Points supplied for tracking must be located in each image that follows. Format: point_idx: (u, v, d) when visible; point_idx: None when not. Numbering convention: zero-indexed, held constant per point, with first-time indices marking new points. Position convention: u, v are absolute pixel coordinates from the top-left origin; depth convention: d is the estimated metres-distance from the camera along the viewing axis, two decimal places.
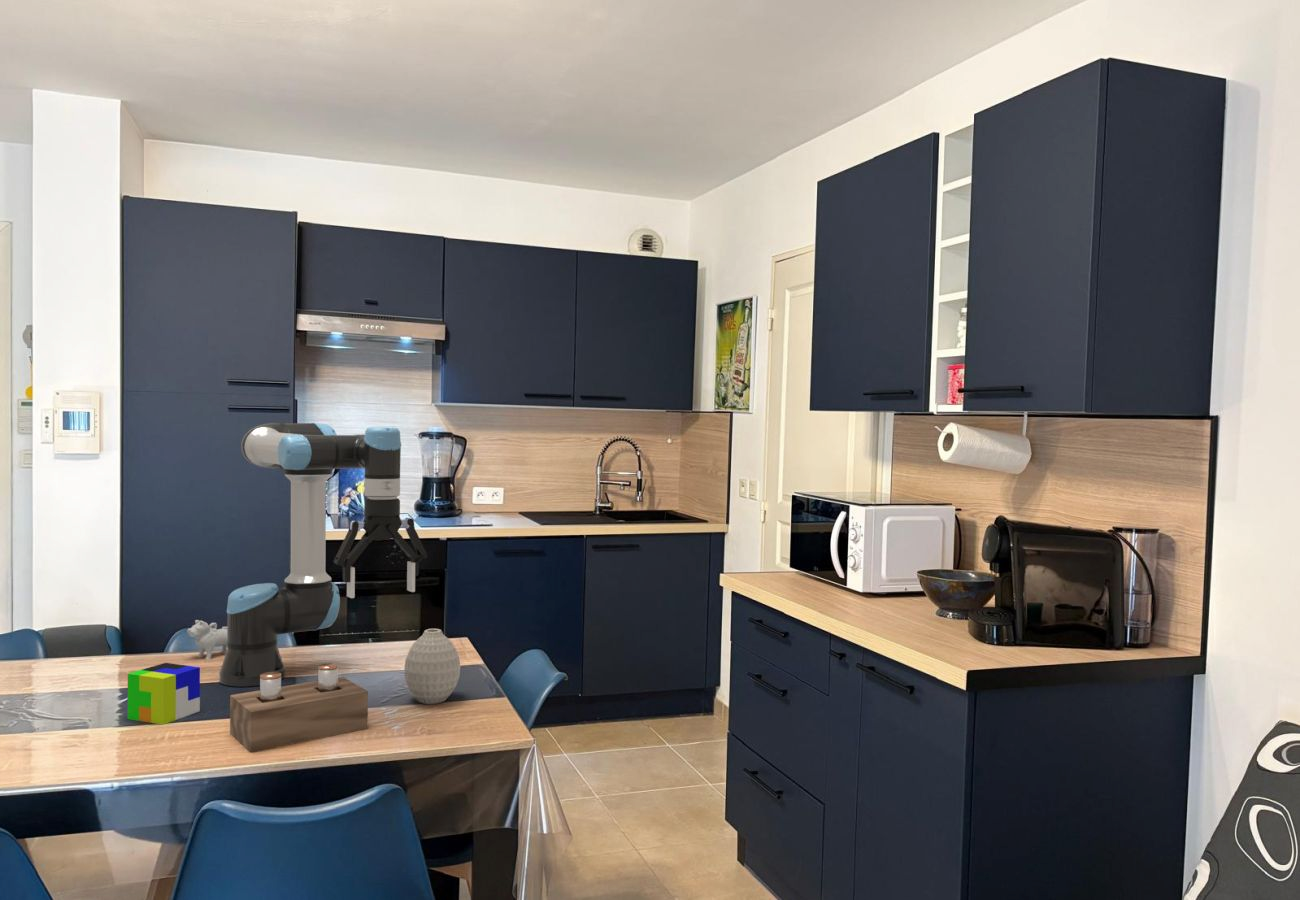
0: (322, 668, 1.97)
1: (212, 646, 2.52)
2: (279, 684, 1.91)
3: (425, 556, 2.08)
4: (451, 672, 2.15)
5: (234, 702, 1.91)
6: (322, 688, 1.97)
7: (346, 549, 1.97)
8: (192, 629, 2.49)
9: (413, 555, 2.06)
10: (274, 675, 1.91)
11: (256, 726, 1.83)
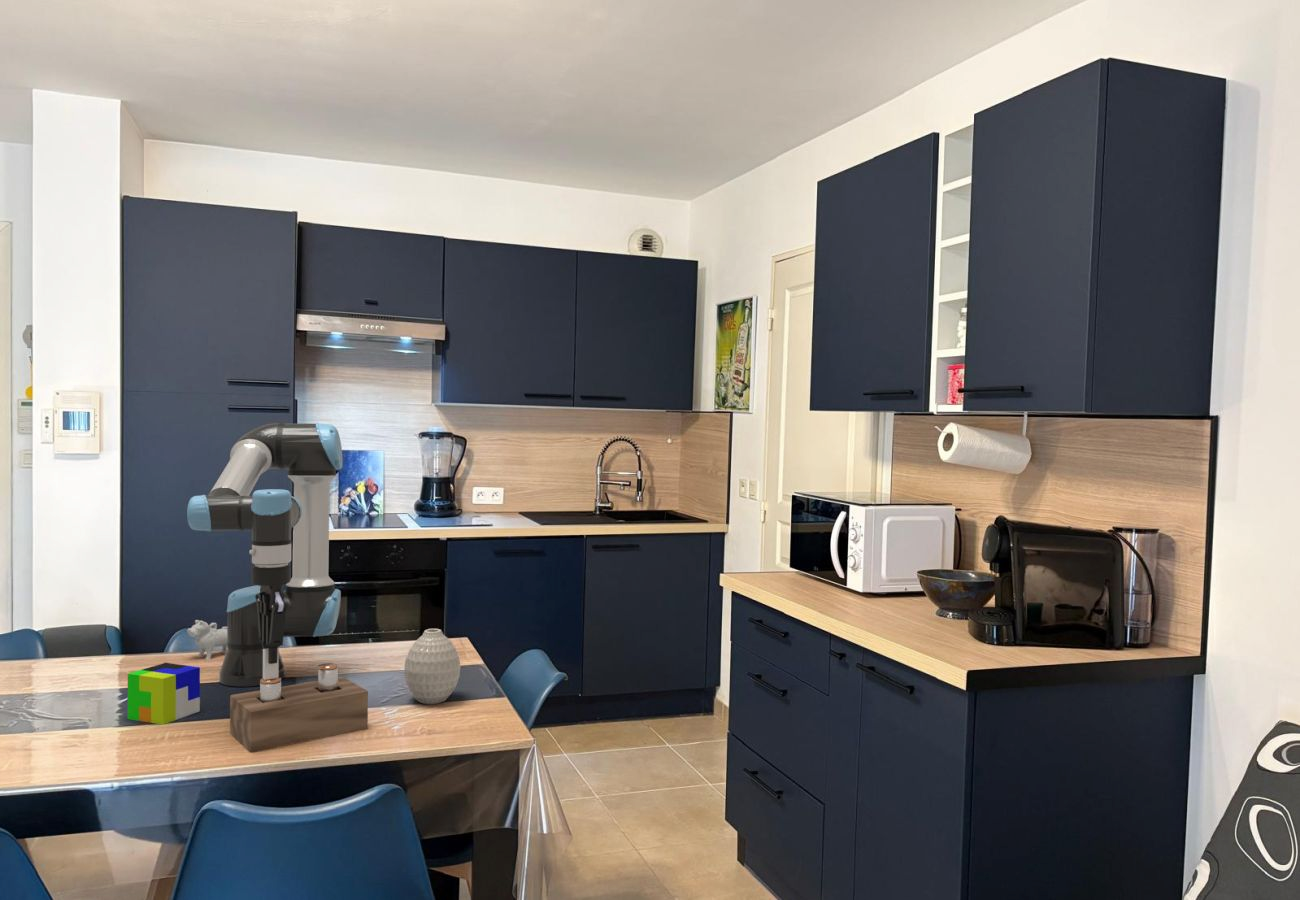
0: (322, 668, 1.97)
1: (212, 646, 2.52)
2: (279, 689, 1.91)
3: (269, 644, 1.88)
4: (451, 672, 2.15)
5: (234, 702, 1.91)
6: (322, 688, 1.97)
7: (258, 623, 1.93)
8: (192, 629, 2.49)
9: (266, 639, 1.90)
10: (274, 680, 1.91)
11: (256, 726, 1.83)
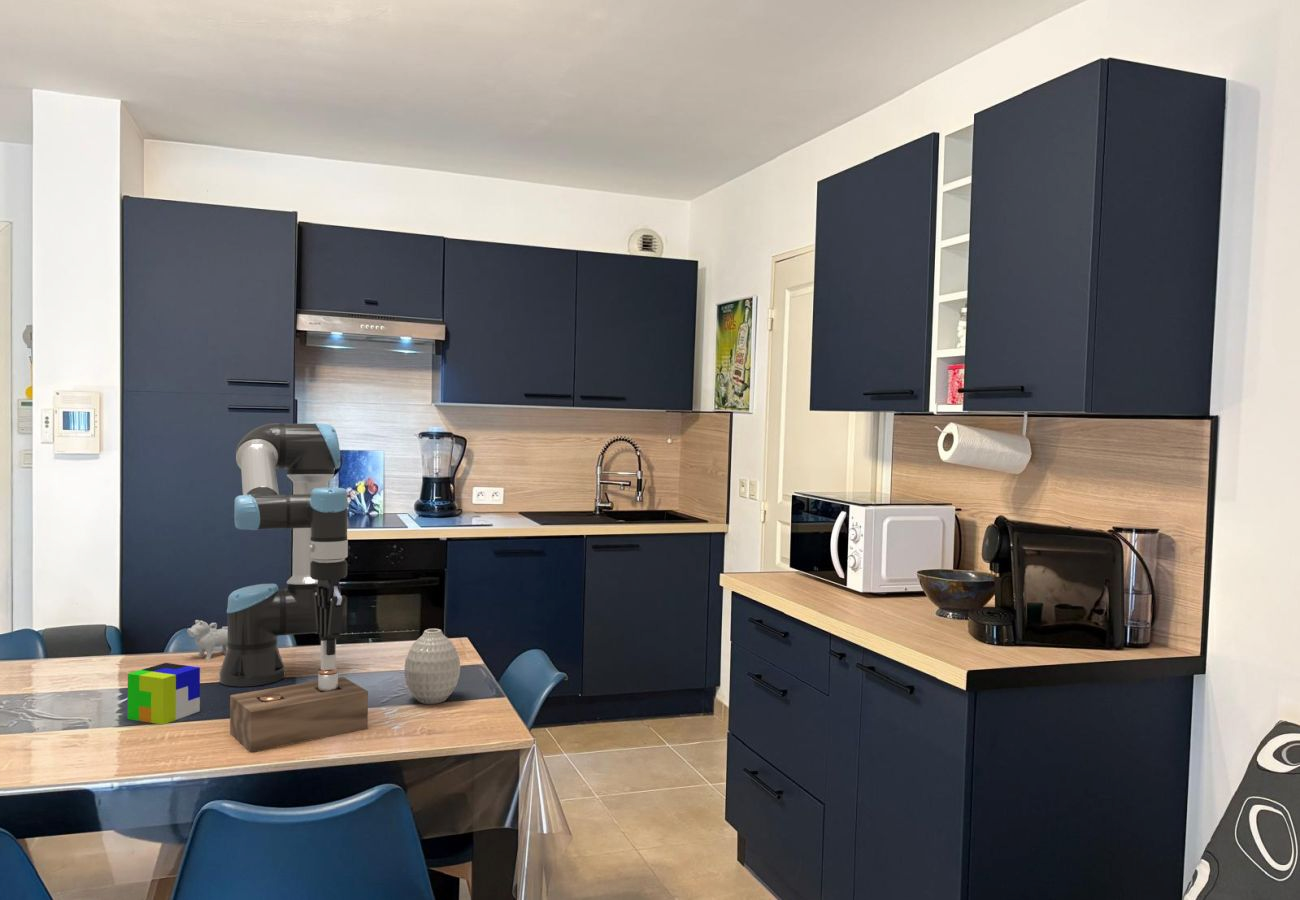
0: (322, 673, 1.97)
1: (212, 646, 2.52)
2: None
3: (328, 636, 1.96)
4: (451, 672, 2.15)
5: (234, 702, 1.91)
6: None
7: (316, 616, 2.01)
8: (192, 629, 2.49)
9: (325, 631, 1.97)
10: (274, 698, 1.91)
11: (256, 726, 1.83)
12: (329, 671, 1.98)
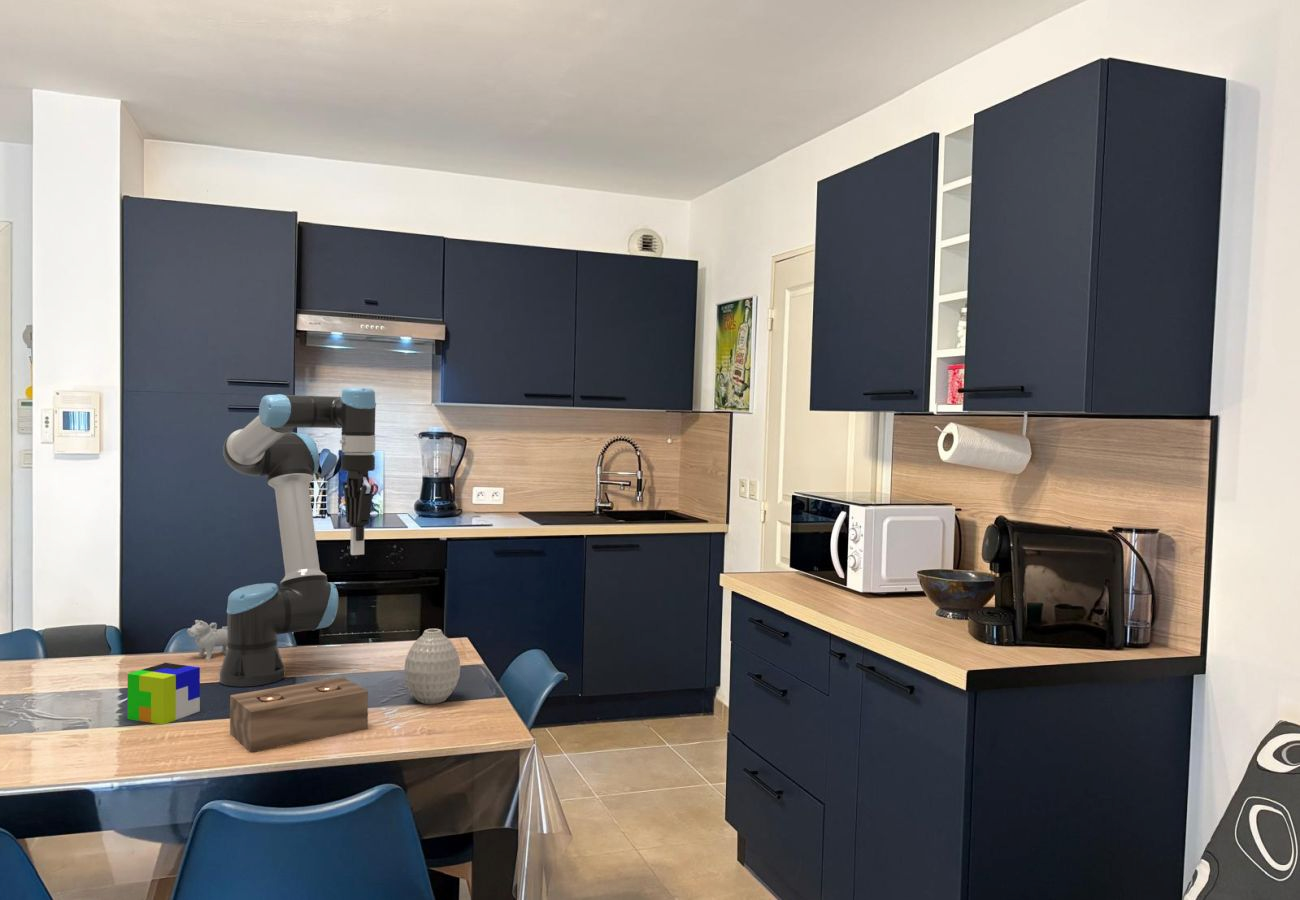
0: (322, 690, 1.97)
1: (212, 646, 2.52)
2: None
3: (357, 523, 2.14)
4: (451, 672, 2.15)
5: (234, 702, 1.91)
6: None
7: (346, 507, 2.19)
8: (192, 629, 2.49)
9: (354, 518, 2.15)
10: (274, 698, 1.91)
11: (256, 726, 1.83)
12: (329, 688, 1.98)
